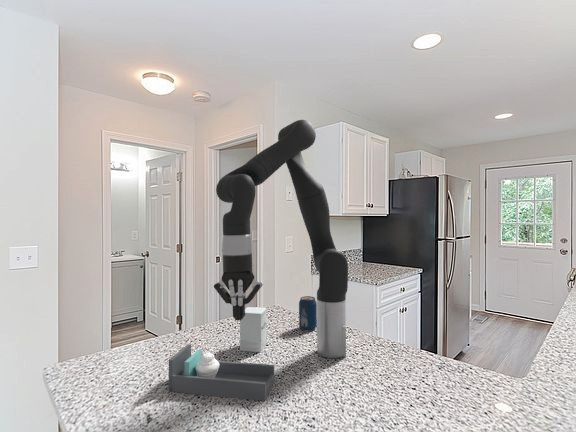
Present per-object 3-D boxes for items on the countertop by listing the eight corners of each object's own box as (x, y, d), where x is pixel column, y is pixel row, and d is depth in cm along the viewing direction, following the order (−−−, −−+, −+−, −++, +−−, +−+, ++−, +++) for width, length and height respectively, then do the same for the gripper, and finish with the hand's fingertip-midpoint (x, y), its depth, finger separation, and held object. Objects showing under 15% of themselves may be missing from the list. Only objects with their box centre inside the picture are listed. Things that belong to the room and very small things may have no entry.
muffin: (196, 387, 81) (196, 359, 81) (194, 376, 86) (194, 350, 86) (221, 382, 83) (221, 355, 83) (217, 372, 89) (217, 346, 89)
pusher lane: (274, 379, 86) (274, 350, 86) (265, 400, 76) (265, 367, 76) (187, 372, 91) (187, 344, 91) (168, 391, 81) (168, 359, 81)
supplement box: (261, 352, 104) (260, 313, 104) (239, 351, 105) (239, 312, 105) (267, 344, 111) (267, 307, 111) (246, 342, 112) (246, 306, 112)
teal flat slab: (202, 371, 89) (202, 349, 89) (189, 386, 81) (189, 362, 81) (198, 371, 89) (198, 349, 89) (184, 385, 81) (184, 361, 81)
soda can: (315, 325, 129) (315, 295, 130) (317, 331, 123) (317, 300, 123) (298, 325, 129) (298, 296, 129) (299, 331, 122) (299, 300, 122)
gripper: (265, 250, 85) (267, 315, 85) (218, 251, 87) (220, 314, 87) (258, 253, 78) (260, 325, 78) (207, 254, 80) (208, 323, 80)
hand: (239, 319), depth 83 cm, fingers closed
